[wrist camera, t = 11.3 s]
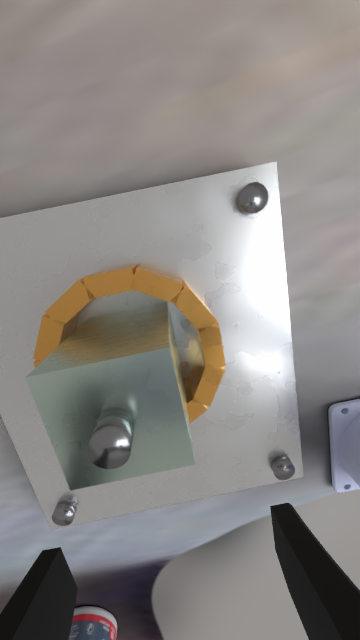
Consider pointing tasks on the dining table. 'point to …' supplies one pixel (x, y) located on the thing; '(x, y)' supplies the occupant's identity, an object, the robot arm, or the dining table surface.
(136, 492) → the bolted plate with ring
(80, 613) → the pill bottle
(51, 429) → the mint green square pillar
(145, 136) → the dining table surface
